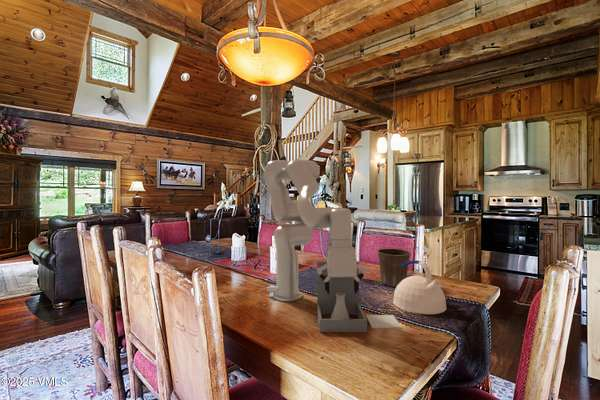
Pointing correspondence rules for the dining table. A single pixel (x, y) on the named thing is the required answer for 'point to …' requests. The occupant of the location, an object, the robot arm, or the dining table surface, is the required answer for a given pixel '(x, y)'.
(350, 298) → the case
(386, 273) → the plant pot
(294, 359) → the dining table surface
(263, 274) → the dining table surface
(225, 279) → the dining table surface
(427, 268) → the kettle
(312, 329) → the dining table surface
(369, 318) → the rubber mat
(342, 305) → the flask
